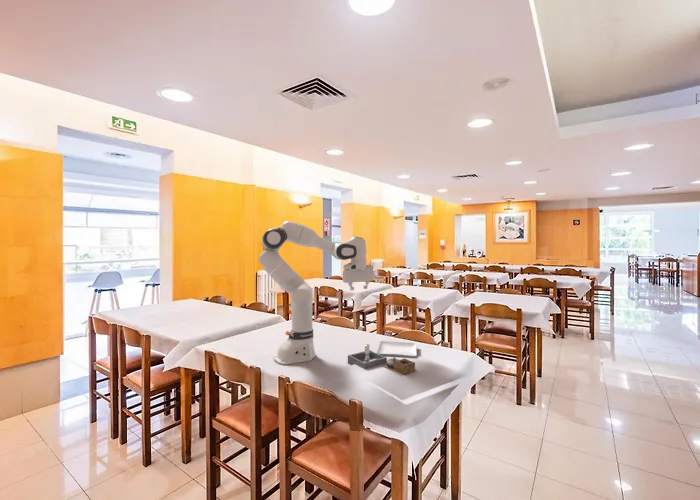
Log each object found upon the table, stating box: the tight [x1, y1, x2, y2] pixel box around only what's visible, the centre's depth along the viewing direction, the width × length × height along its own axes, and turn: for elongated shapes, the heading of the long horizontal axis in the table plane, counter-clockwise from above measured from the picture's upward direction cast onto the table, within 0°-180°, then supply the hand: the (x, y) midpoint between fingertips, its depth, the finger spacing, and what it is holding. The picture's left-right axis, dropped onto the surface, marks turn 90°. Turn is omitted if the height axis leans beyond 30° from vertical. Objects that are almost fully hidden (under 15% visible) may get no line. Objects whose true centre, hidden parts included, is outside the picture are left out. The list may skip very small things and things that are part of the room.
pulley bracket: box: [381, 356, 418, 377], centre depth 159 cm, size 10×14×6 cm
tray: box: [347, 349, 388, 370], centre depth 169 cm, size 14×14×4 cm
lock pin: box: [364, 344, 370, 363], centre depth 168 cm, size 2×2×9 cm
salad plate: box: [375, 340, 418, 358], centre depth 185 cm, size 21×21×3 cm
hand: (358, 289), depth 192 cm, fingers open, 8 cm apart
